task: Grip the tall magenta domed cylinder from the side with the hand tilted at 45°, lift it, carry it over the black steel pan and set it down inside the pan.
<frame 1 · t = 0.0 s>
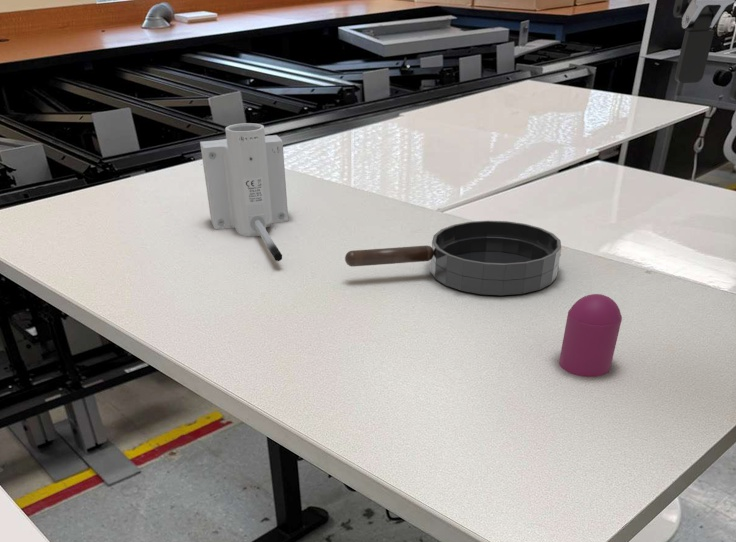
hand: (713, 90, 58), 27 cm above the table, tool pointing down, fingers open, 8 cm apart
pan: (492, 274, 99), on the table
pan handle: (389, 256, 95), point 4 cm above the table
electronic device: (261, 243, 110), on the table
magenta domed cylinder: (584, 366, 78), on the table
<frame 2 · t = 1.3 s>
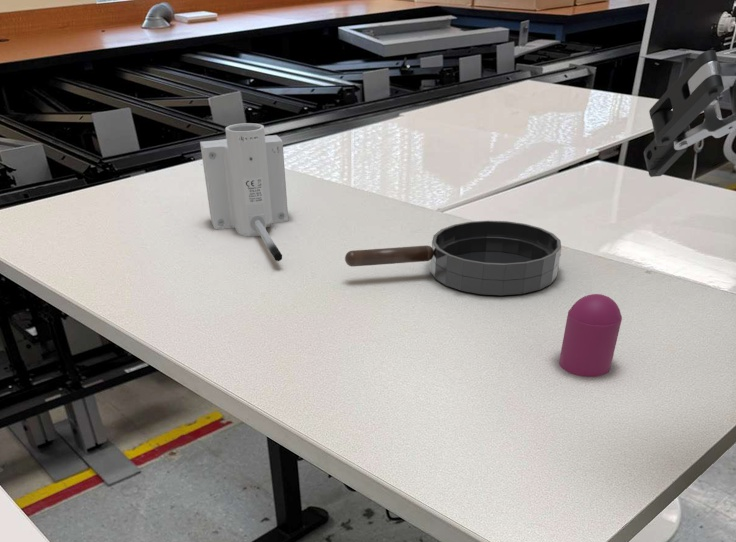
hand: (701, 162, 55), 23 cm above the table, tool tilted 45°, fingers open, 8 cm apart
nothing on the table moved.
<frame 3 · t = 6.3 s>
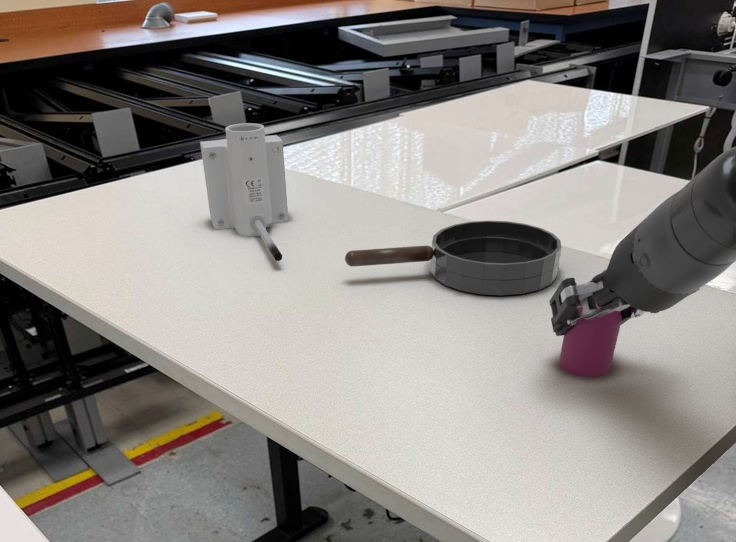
hand: (583, 323, 76), 4 cm above the table, tool tilted 45°, fingers closed on magenta domed cylinder, 5 cm apart
magenta domed cylinder: (584, 366, 78), on the table, touching gripper
everything else where it was.
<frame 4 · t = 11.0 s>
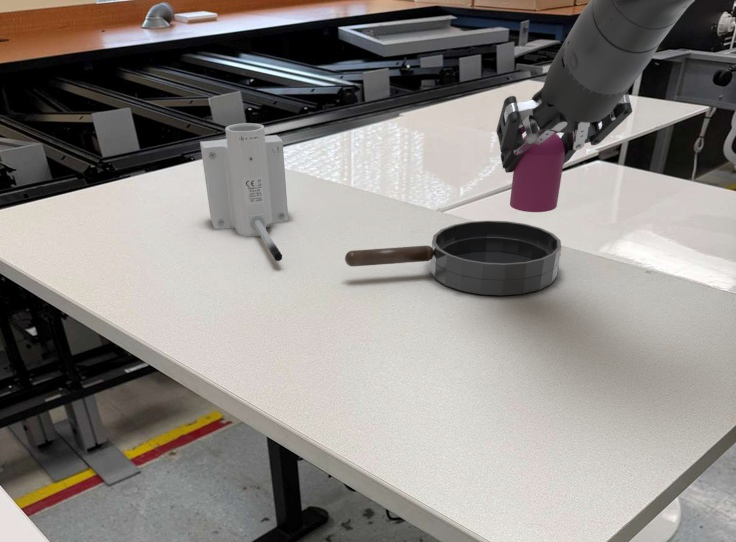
hand: (531, 162, 82), 16 cm above the table, tool tilted 45°, fingers closed on magenta domed cylinder, 5 cm apart
magenta domed cylinder: (533, 205, 84), point 12 cm above the table, touching gripper
everything else where it was.
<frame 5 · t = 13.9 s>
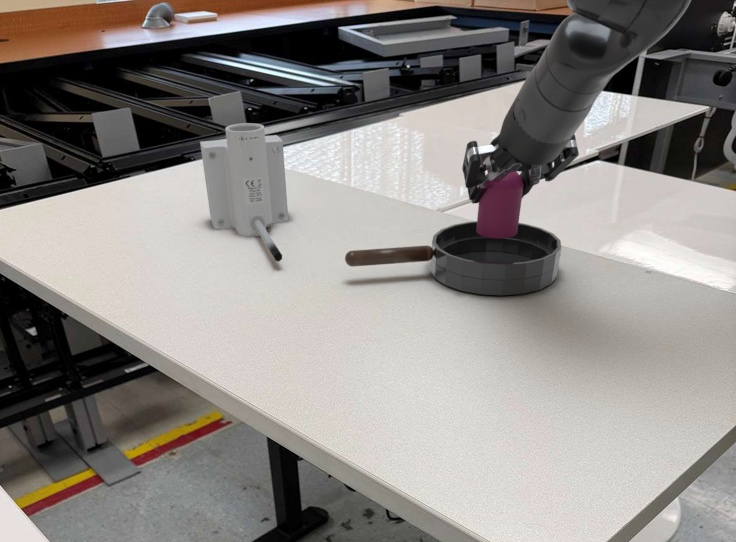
hand: (495, 194, 94), 10 cm above the table, tool tilted 45°, fingers closed on magenta domed cylinder, 5 cm apart
magenta domed cylinder: (496, 231, 95), point 6 cm above the table, touching gripper
everything else where it was.
when the fingers open (5 cm above the table, at t = 15.9 s): magenta domed cylinder stays where it is, resting on pan.
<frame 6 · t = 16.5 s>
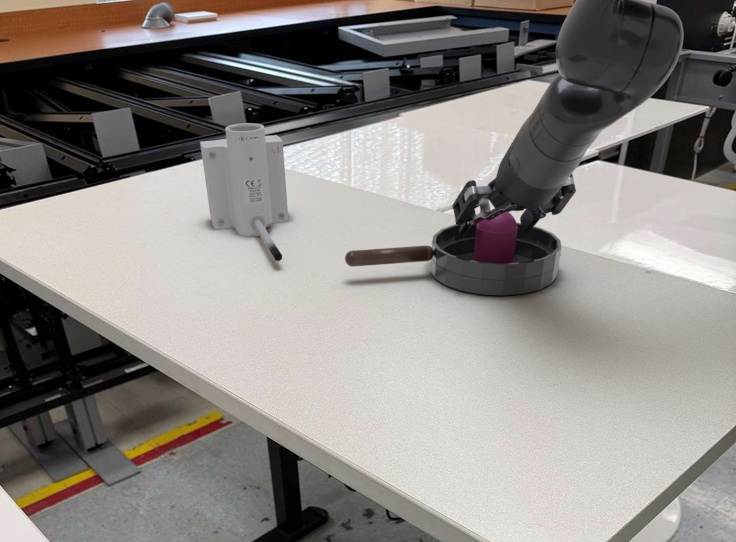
hand: (493, 228, 96), 6 cm above the table, tool tilted 45°, fingers open, 8 cm apart
magenta domed cylinder: (492, 270, 98), resting on pan
everything else where it was.
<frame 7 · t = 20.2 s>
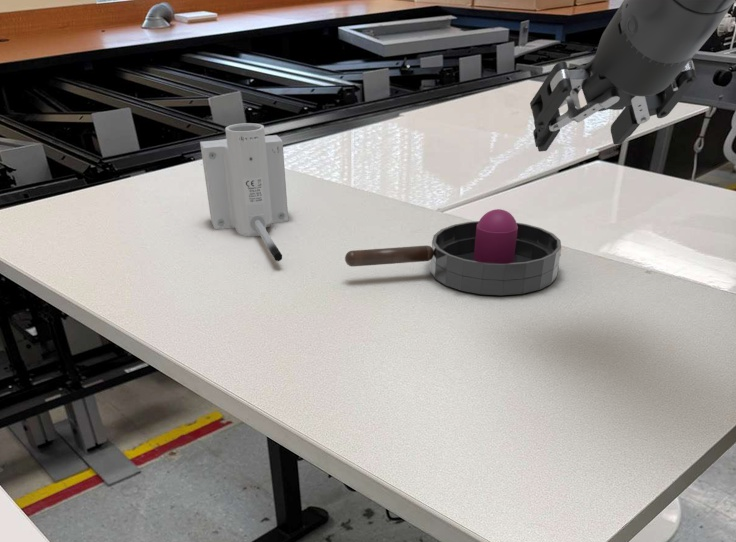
hand: (577, 140, 75), 20 cm above the table, tool tilted 45°, fingers open, 8 cm apart
nothing on the table moved.
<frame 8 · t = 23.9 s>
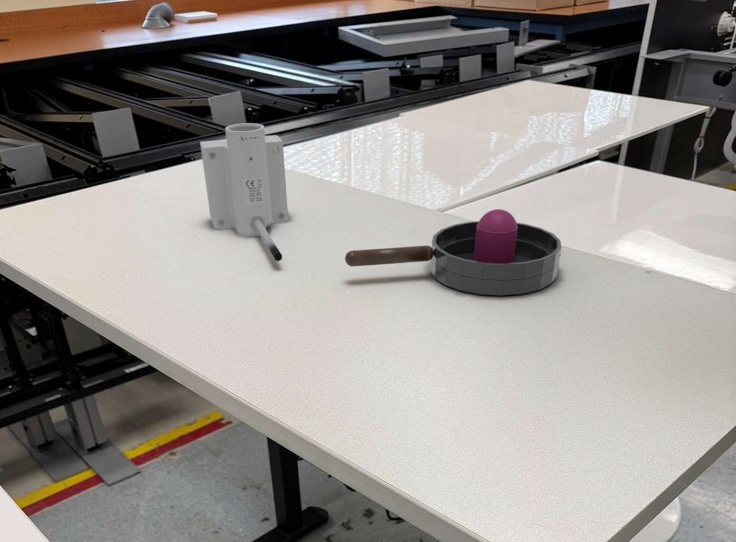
nothing on the table moved.
at the end: magenta domed cylinder inside the target area in the pan (0.1 cm from its centre), point 0.5 cm above the pan's base; magenta domed cylinder tilted 0°; the gripper is holding nothing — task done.
